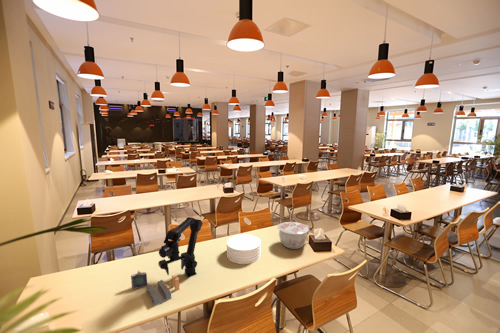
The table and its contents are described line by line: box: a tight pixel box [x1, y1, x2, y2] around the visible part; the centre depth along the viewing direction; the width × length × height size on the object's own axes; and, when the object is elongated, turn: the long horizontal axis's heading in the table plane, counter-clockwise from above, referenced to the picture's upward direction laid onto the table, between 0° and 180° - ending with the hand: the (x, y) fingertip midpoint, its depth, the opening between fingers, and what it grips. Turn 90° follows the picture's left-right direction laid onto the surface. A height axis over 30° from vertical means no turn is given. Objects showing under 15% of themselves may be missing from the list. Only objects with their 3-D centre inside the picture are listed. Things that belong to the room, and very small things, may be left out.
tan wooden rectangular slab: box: [171, 273, 180, 291], centre depth 152 cm, size 2×6×8 cm, turn 39°
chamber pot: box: [277, 221, 311, 250], centre depth 209 cm, size 28×28×21 cm
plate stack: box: [226, 233, 262, 265], centre depth 193 cm, size 28×28×12 cm
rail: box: [145, 279, 172, 307], centre depth 146 cm, size 10×16×4 cm, turn 39°
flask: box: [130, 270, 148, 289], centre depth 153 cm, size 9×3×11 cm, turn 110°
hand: (175, 272), depth 151 cm, fingers open, 9 cm apart
